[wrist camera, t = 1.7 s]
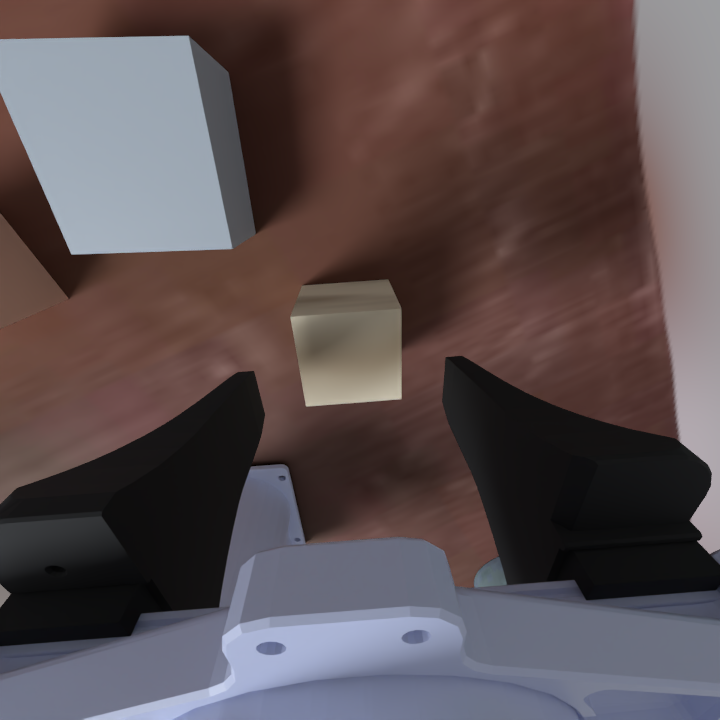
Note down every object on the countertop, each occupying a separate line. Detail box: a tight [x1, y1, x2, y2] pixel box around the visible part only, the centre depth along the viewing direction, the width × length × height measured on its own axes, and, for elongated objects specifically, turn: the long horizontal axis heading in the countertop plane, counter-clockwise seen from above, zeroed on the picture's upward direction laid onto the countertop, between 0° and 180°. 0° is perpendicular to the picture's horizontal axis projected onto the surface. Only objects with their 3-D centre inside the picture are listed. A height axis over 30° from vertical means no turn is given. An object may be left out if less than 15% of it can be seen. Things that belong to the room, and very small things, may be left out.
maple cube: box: [291, 279, 402, 407], centre depth 16 cm, size 4×4×4 cm
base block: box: [0, 36, 256, 255], centre depth 13 cm, size 6×6×4 cm
